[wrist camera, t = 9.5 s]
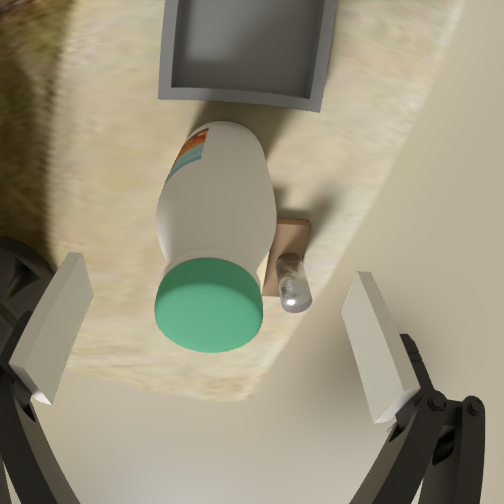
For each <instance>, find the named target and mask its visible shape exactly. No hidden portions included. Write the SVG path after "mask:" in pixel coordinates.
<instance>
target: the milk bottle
mask: <svg viewBox="0 0 504 504" xmlns="http://www.w3.org/2000/svg"><path fill="white" fill-rule="evenodd" d="M276 218H277V211H276V203H275V197H274V192H273V187H272V183H271V179H270V175H269V171H268V167H267V163H266V159H265V156H264V152H263V149H262V147H261V144H260V142H259V140H258V139H257V137H256V136H255V135H254V134H253V133H252V132H251V131H250V130H249V129H247V128H246V127H244V126H243V125H240V124H238V123H235V122H231V121H214V122H210V123H207V124H205V125H202V126H201V127H199V128H198V129H196V130H195V131H194V132H193V133H192V134H191V135H190V136H189V137H188V139H187V140H186V142H185V143H184V145H183V147H182V149H181V151H180V153H179V154H178V156H177V158H176V160H175V162H174V164H173V166H172V169H171V171H170V173H169V175H168V177H167V179H166V182H165V184H164V187H163V189H162V192H161V195H160V198H159V201H158V206H157V213H156V230H157V236H158V241H159V244H160V247H161V249H162V252H163V254H164V256H165V258H166V260H167V264H168V265H167V267H166V268H165V270H164V271H163V274H162V277H161V282H160V286H159V289H158V292H157V296H156V301H155V318H156V322H157V324H158V327H159V328H160V330H161V331H162V332H163V334H164V335H165V336H166V337H168V338H169V339H170V340H171V341H173V342H175V343H176V344H178V345H180V346H182V347H184V348H187V349H190V350H194V351H198V352H206V353H217V352H225V351H230V350H233V349H236V348H239V347H241V346H243V345H245V344H246V343H248V342H249V341H250V340H252V339H253V338H254V337H255V336H256V334H257V333H258V331H259V329H260V327H261V324H262V320H263V302H262V296H261V284H260V280H259V277H258V275H257V273H256V272H257V269H258V267H259V266H260V265H261V263H262V262H263V260H264V259H265V257H266V255H267V254H268V252H269V250H270V247H271V245H272V242H273V239H274V235H275V230H276Z"/></svg>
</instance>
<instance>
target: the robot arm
mask: <svg viewBox="0 0 504 504" xmlns="http://www.w3.org/2000/svg"><path fill="white" fill-rule="evenodd" d="M92 298H93V292H92V289H91V285H90V281H89V278H88V274H87V270H86V266H85V262H84V258H83V254H82V253H75V252H69V253H68V254H67V256H66V258H65V259H64V261H63V262H62V264H61V266H60V267H59V269H58V270H57V272H56V274H55V275H54V274H53V272H52V271H51V269H50V268H49V266H48V265H47V264H46V263H45V262H44V261H43V259H42V258H41V257H40V256H39V255H37V254H36V253H35V252H34V251H33V250H31V249H30V248H29V247H27V246H26V245H24V244H22V243H20V242H18V241H16V240H14V239H10V238H6V237H0V504H12V503H11V499H10V494H9V490H8V486H7V480H6V475H5V470H4V464H5V467H6V469H7V472H8V474H9V477H10V479H11V481H12V484H13V486H14V489H15V491H16V493H17V495H18V497H19V500H20V502H21V504H80V502H79V501H78V499H77V497H76V496H75V494H74V492H73V490H72V489H71V487H70V485H69V483H68V482H67V480H66V478H65V476H64V474H63V472H62V471H61V469H60V467H59V465H58V463H57V461H56V459H55V456H54V454H53V452H52V450H51V448H50V446H49V444H48V441H47V440H46V437H45V435H44V433H43V430H42V428H41V425H40V423H39V421H38V418H37V415H36V413H35V410H34V407H33V405H32V403H31V401H30V398H31V395H33V396H34V397H35V398H36V400H37V401H40V402H43V403H46V404H50V405H52V404H53V400H54V397H55V394H56V391H57V388H58V385H59V382H60V379H61V376H62V373H63V370H64V368H65V365H66V362H67V359H68V357H69V354H70V351H71V349H72V346H73V343H74V341H75V338H76V336H77V333H78V331H79V328H80V326H81V323H82V321H83V319H84V316H85V314H86V311H87V309H88V307H89V305H90V302H91V300H92ZM341 313H342V316H343V319H344V322H345V325H346V329H347V332H348V335H349V339H350V342H351V345H352V349H353V352H354V355H355V359H356V362H357V366H358V369H359V372H360V376H361V379H362V383H363V387H364V391H365V394H366V398H367V402H368V406H369V409H370V413H371V417H372V421H373V424H374V423H381V422H386V421H389V420H390V419H391V418H392V417H393V416H394V415H395V416H396V419H397V422H395V423H394V424H393V425H392V426H391V427H390V428H389V429H388V430H387V433H389V432H390V431H391V432H390V434H389V436H388V438H387V440H386V442H385V444H384V446H383V448H382V449H381V451H380V453H379V455H378V457H377V459H376V460H375V462H374V464H373V466H372V468H371V469H370V471H369V473H368V474H367V476H366V478H365V479H364V482H363V483H362V484H361V486H360V488H359V489H358V491H357V492H356V494H355V496H354V497H353V499H352V500H351V502H350V503H349V504H411V502H412V501H413V499H414V496H415V494H416V492H417V490H418V488H419V485H420V484H421V481H422V479H423V483H422V488H421V493H420V498H419V502H418V504H480V497H481V488H482V479H483V468H484V453H485V408H484V405H483V403H482V401H481V400H480V399H479V398H477V397H475V396H468V397H466V398H465V399H464V400H463V401H462V402H460V401H454V400H448V399H447V398H446V397H445V396H444V394H442V393H441V392H440V391H437V390H435V389H434V387H433V385H432V383H431V380H430V378H429V375H428V373H427V370H426V368H425V366H424V363H423V361H422V358H421V356H420V354H419V351H418V349H417V347H416V344H415V342H414V341H413V340H412V339H411V338H410V336H409V335H408V334H399V333H398V330H397V328H396V326H395V323H394V321H393V319H392V317H391V314H390V312H389V310H388V308H387V305H386V303H385V301H384V299H383V297H382V295H381V293H380V290H379V288H378V286H377V284H376V282H375V280H374V278H373V276H372V274H371V272H357V273H356V275H355V278H354V281H353V283H352V286H351V288H350V291H349V293H348V296H347V298H346V301H345V303H344V305H343V308H342V310H341ZM3 461H4V464H3ZM423 477H424V478H423Z"/></svg>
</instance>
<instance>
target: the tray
mask: <svg viewBox="0 0 504 504" xmlns="http://www.w3.org/2000/svg"><path fill="white" fill-rule="evenodd" d="M336 8H337V0H166V2H165V10H164V20H163V30H162V42H161V55H160V70H159V90H158V99H170V100H206V101H224V102H238V103H249V104H259V105H269V106H277V107H285V108H292V109H299V110H306V111H312V112H319V113H320V109H321V103H322V97H323V92H324V86H325V80H326V74H327V68H328V61H329V55H330V49H331V42H332V35H333V29H334V22H335V15H336Z"/></svg>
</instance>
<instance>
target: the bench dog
mask: <svg viewBox="0 0 504 504" xmlns="http://www.w3.org/2000/svg"><path fill="white" fill-rule="evenodd" d="M275 268H276V274H277V280H278V286H279V292H280V298H281V304H282V307H283V309H284V310H285V311H287V312H290V313H299V312H302V311H304V310H306V309H307V308H309V307H310V305H311V303H312V296H311V293H310V289H309V285H308V282H307V278H306V274H305V271H304V267H303V263H302V260H301V258H300V257H299V256H298V255H297V254H294V253H286V254H283V255H281V256H280V257H278V259H277V260H276V262H275Z"/></svg>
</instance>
